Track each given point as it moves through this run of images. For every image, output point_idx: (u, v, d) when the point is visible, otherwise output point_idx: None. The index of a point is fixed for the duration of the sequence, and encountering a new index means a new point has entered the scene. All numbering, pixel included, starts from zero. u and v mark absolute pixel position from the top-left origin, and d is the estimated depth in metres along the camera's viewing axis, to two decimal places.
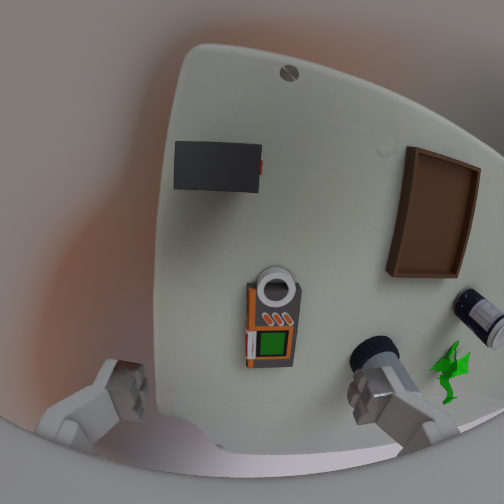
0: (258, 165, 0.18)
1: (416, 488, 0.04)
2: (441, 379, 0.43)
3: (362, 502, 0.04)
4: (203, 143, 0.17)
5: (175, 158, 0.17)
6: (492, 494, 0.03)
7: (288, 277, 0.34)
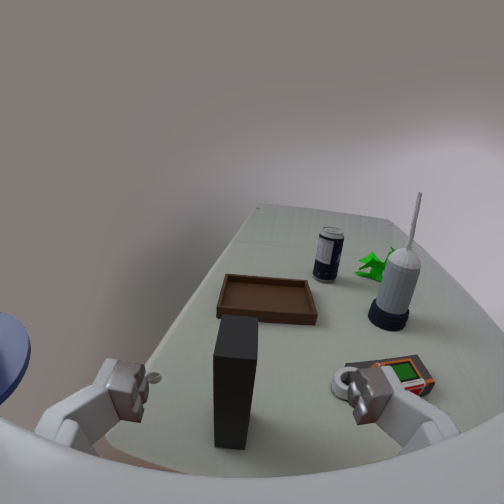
0: (237, 316, 0.25)
1: (416, 488, 0.04)
2: None
3: (362, 502, 0.04)
4: (218, 339, 0.21)
5: (228, 356, 0.20)
6: (492, 494, 0.03)
7: (337, 372, 0.34)
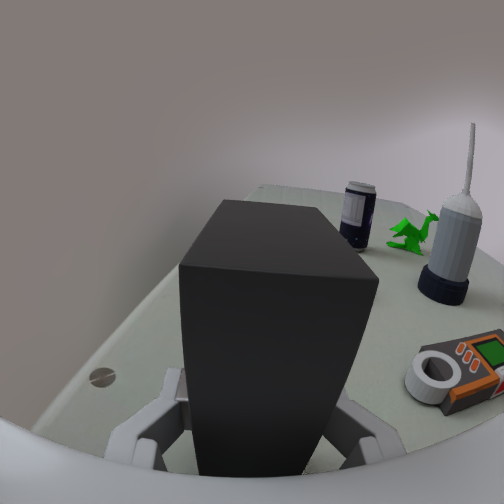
0: None
1: (416, 488, 0.04)
2: (423, 238, 0.51)
3: (362, 502, 0.04)
4: (206, 229, 0.06)
5: (253, 269, 0.04)
6: (492, 494, 0.03)
7: (415, 361, 0.19)
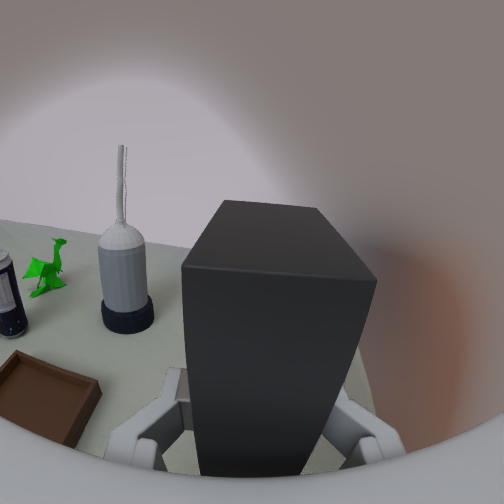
0: None
1: (416, 488, 0.04)
2: (59, 267, 0.44)
3: (362, 502, 0.04)
4: (208, 230, 0.06)
5: (254, 269, 0.04)
6: (492, 494, 0.03)
7: None
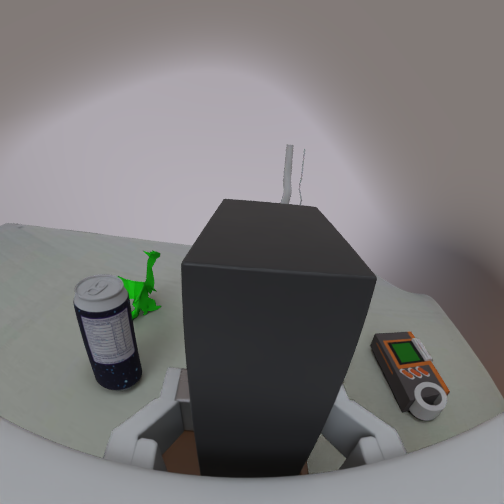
0: None
1: (416, 488, 0.04)
2: (151, 287, 0.42)
3: (362, 502, 0.04)
4: (208, 228, 0.06)
5: (253, 267, 0.04)
6: (492, 494, 0.03)
7: (428, 408, 0.23)
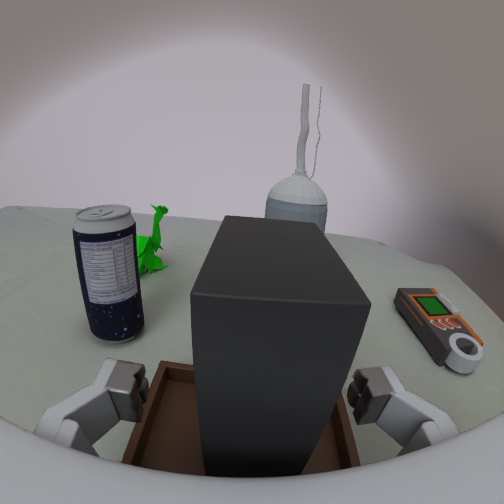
0: (264, 218, 0.10)
1: (416, 488, 0.04)
2: None
3: (362, 502, 0.04)
4: (212, 252, 0.06)
5: (257, 296, 0.05)
6: (492, 494, 0.03)
7: (466, 357, 0.20)
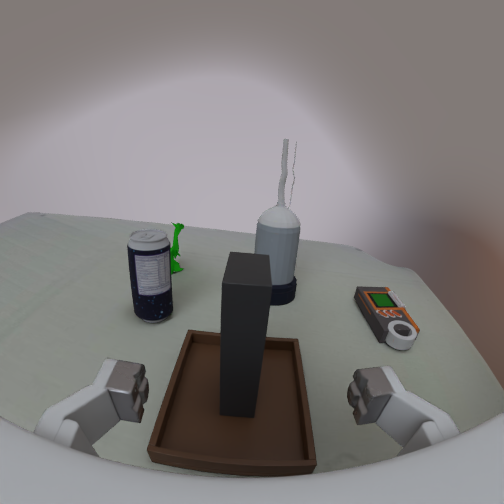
0: (246, 253, 0.23)
1: (416, 488, 0.04)
2: None
3: (362, 502, 0.04)
4: (226, 270, 0.20)
5: (240, 283, 0.18)
6: (492, 494, 0.03)
7: (399, 337, 0.33)
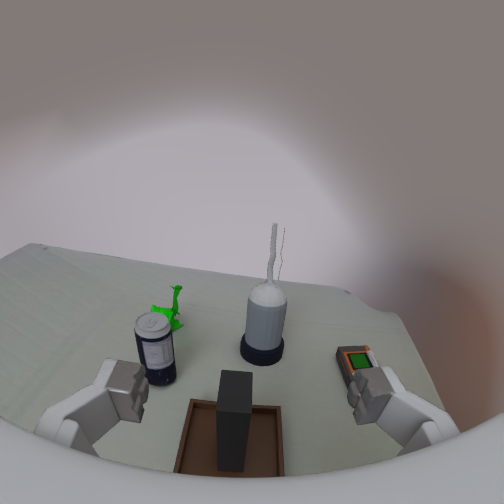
0: (234, 371, 0.28)
1: (416, 488, 0.04)
2: (176, 311, 0.57)
3: (362, 502, 0.04)
4: (219, 395, 0.24)
5: (228, 411, 0.23)
6: (492, 494, 0.03)
7: None
